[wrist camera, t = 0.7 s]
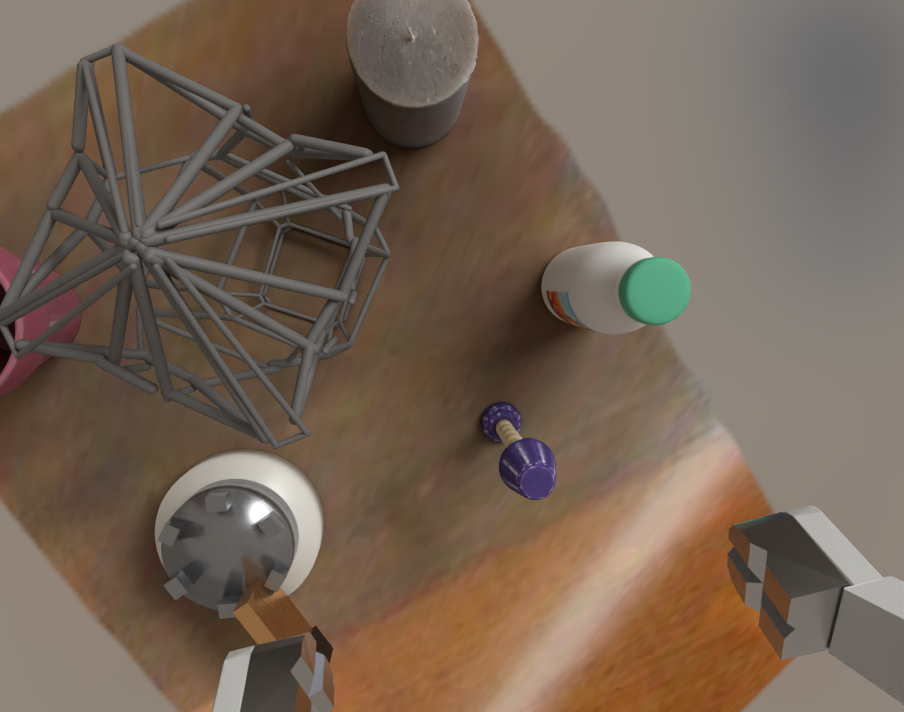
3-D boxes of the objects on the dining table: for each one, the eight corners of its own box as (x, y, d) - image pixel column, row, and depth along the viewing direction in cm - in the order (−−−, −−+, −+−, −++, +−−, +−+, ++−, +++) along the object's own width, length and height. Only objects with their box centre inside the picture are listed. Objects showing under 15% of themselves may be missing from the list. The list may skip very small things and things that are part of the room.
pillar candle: (348, 127, 54) (323, 74, 39) (380, 24, 53) (367, -70, 38) (444, 163, 55) (455, 125, 41) (477, 63, 54) (501, -14, 39)
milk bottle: (529, 262, 57) (588, 255, 37) (602, 236, 57) (698, 216, 37) (553, 334, 58) (621, 364, 38) (624, 308, 58) (728, 326, 38)
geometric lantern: (212, 317, 56) (-130, 360, 21) (268, 166, 55) (0, -50, 20) (361, 376, 58) (268, 506, 23) (420, 230, 56) (415, 132, 21)
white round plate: (354, 541, 60) (350, 556, 57) (229, 621, 61) (219, 640, 57) (265, 419, 58) (256, 427, 55) (136, 503, 58) (119, 516, 55)
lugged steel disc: (149, 521, 55) (110, 557, 48) (251, 455, 55) (226, 481, 48) (276, 681, 58) (256, 737, 51) (373, 619, 58) (367, 667, 51)
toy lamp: (530, 406, 59) (572, 457, 43) (520, 449, 60) (559, 516, 43) (485, 398, 59) (510, 446, 42) (476, 441, 59) (497, 505, 43)
